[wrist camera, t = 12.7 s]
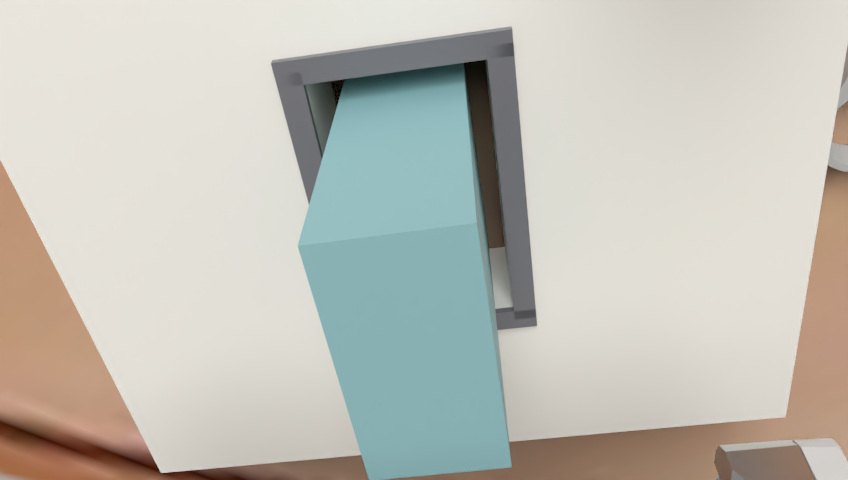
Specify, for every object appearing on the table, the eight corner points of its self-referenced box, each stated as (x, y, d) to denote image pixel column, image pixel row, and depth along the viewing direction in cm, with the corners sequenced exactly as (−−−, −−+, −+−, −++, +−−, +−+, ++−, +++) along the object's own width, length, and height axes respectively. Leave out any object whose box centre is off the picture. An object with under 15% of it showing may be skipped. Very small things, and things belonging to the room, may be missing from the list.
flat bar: (461, 42, 20) (476, 222, 12) (487, 232, 23) (511, 467, 15) (350, 59, 20) (297, 245, 12) (391, 244, 23) (369, 480, 16)
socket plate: (829, -294, 15) (910, -304, 13) (750, 351, 25) (788, 421, 23) (-60, -139, 17) (-150, -119, 15) (186, 406, 27) (159, 478, 24)
